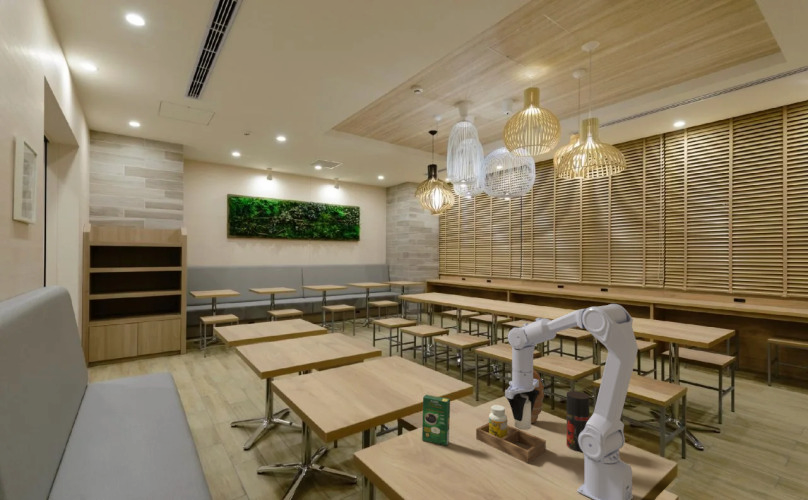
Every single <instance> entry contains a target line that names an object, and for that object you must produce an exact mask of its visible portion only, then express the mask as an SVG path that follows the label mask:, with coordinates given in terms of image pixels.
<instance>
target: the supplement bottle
mask: <svg viewBox="0 0 808 500" xmlns="http://www.w3.org/2000/svg"><path fill="white" fill-rule="evenodd" d="M488 423H489V433H490V434H492V435H494V436H497V437H499V438H503V437H504V436H506V435H507V425H508V416H507V415H506V407H504V406H502V405H499V404H494V405H491V407H490V413H489V415H488Z"/></svg>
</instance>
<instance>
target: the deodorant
mask: <svg viewBox="0 0 808 500" xmlns="http://www.w3.org/2000/svg"><path fill="white" fill-rule="evenodd" d="M589 419H590V395H589V394H587V393H585V392H582V391H577V390H576V391H575V390H570V391H568V392H566V446H567V448H569V449H570V450H572V451H575V452H577V453H583V451H582V450H581V448H580V446H579V442H578V437H579V434H580V433H581V432H582V431H583V430H584V429H585V426H586V423H587V421H588V420H589Z"/></svg>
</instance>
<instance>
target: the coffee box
mask: <svg viewBox="0 0 808 500" xmlns="http://www.w3.org/2000/svg"><path fill="white" fill-rule="evenodd" d="M450 416H451V398H447V397H441V396H437V395H436V396H435V395H430V394H425V395H424V396H423V398H422V424H421V425H422V430H421V431H422V432H421V433H422V434H421V440H422V441H425V442H428V443H429V442H430V443H434V444H438V445H441V446H448V444H449V443H450V442H449V441H450V418H451V417H450Z"/></svg>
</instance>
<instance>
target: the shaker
mask: <svg viewBox="0 0 808 500" xmlns="http://www.w3.org/2000/svg"><path fill="white" fill-rule="evenodd" d="M520 396H521V397H524V398H527V400H526V402H525V404H524V408H523V417H522V421H518V420H515V419H514V426H515V427H514V428H516V429H519V430H521V431H528V430H530V429H532V423H531V402H530V401H529V400H528V396H527V395H524V394H520Z"/></svg>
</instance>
